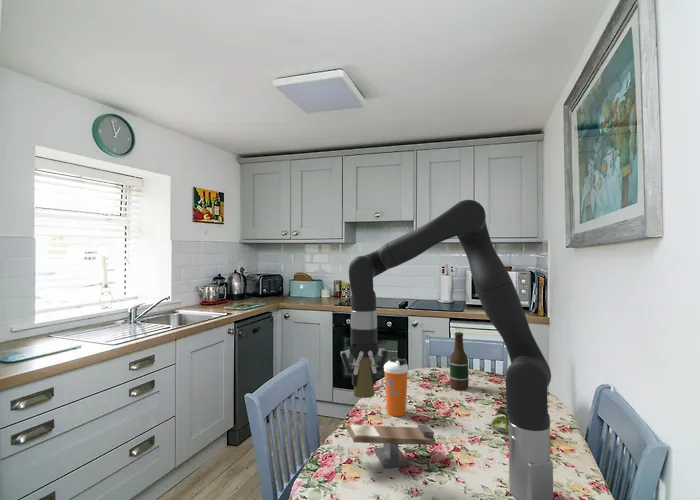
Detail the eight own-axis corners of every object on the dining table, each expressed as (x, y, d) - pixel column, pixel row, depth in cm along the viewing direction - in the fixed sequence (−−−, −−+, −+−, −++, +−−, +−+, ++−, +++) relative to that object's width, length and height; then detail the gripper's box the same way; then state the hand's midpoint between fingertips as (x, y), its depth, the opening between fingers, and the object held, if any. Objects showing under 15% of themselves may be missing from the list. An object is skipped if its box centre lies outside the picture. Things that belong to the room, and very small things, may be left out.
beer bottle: (449, 389, 174) (449, 334, 174) (450, 384, 181) (450, 330, 181) (468, 391, 171) (468, 335, 172) (468, 385, 179) (468, 331, 179)
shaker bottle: (392, 406, 155) (392, 354, 155) (413, 412, 149) (412, 358, 150) (379, 413, 148) (379, 359, 148) (400, 419, 143) (399, 363, 143)
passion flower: (517, 444, 135) (539, 417, 134) (512, 452, 126) (537, 423, 124) (488, 418, 141) (510, 392, 139) (482, 424, 132) (505, 396, 130)
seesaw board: (423, 432, 122) (425, 423, 123) (435, 445, 115) (436, 434, 115) (347, 429, 117) (348, 419, 117) (353, 442, 109) (355, 431, 110)
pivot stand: (408, 465, 112) (408, 445, 112) (384, 468, 110) (384, 448, 110) (396, 448, 122) (396, 430, 122) (374, 451, 120) (374, 432, 120)
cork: (372, 398, 111) (372, 358, 111) (351, 397, 112) (351, 357, 112) (375, 391, 117) (375, 353, 117) (355, 389, 118) (355, 352, 118)
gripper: (341, 329, 109) (342, 393, 109) (391, 327, 112) (392, 388, 112) (336, 324, 117) (337, 384, 117) (383, 322, 120) (384, 380, 120)
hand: (364, 386), depth 114 cm, fingers closed on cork, 4 cm apart
